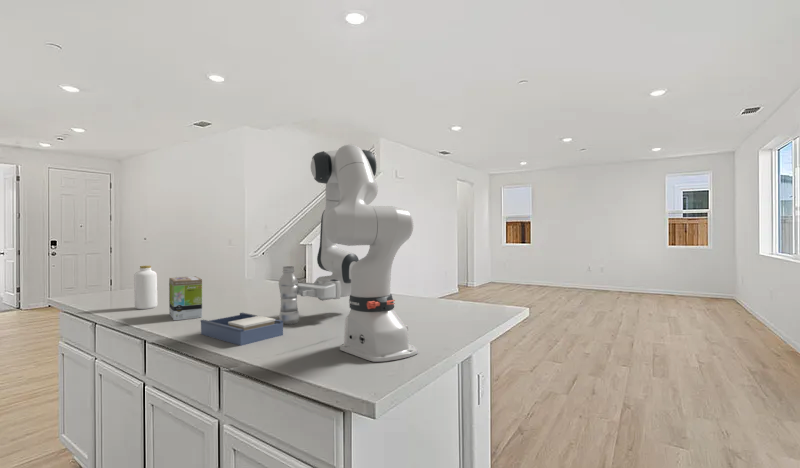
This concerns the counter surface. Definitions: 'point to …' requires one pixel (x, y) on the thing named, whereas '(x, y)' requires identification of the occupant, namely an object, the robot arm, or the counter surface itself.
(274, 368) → the counter surface
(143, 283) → the potion bottle
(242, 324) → the carton
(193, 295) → the tea box
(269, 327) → the tote
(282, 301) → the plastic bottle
